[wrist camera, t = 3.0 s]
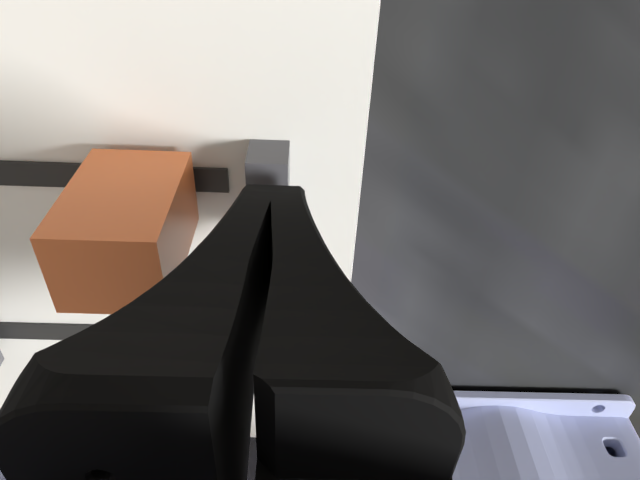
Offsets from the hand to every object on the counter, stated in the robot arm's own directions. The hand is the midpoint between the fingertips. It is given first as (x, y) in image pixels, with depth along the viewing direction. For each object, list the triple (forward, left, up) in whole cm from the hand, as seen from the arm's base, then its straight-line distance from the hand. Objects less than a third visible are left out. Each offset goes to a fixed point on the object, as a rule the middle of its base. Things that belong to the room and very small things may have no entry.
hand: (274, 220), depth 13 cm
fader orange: (+3, 0, -1) cm, 4 cm away
